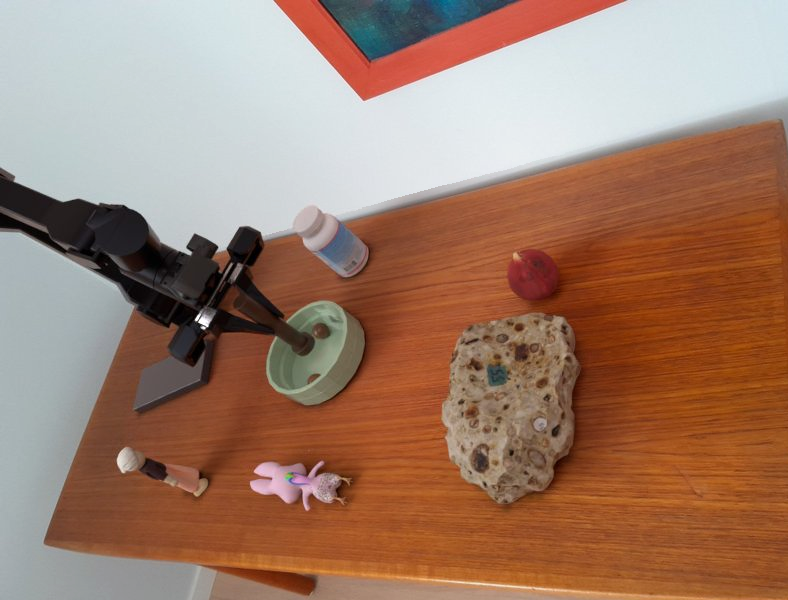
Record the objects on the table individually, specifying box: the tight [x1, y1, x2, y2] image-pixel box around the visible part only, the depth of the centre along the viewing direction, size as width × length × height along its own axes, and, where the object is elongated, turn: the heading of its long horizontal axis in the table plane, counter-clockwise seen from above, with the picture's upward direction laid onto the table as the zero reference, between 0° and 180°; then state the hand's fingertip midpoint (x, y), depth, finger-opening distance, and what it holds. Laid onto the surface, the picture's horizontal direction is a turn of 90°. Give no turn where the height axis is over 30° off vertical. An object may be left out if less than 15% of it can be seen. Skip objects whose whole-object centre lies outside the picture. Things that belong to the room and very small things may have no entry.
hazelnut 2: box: [307, 373, 321, 384], centre depth 90 cm, size 2×2×2 cm
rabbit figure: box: [249, 460, 353, 512], centre depth 82 cm, size 6×6×15 cm
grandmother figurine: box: [116, 446, 209, 498], centre depth 91 cm, size 8×4×13 cm, turn 71°
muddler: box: [232, 294, 315, 356], centre depth 86 cm, size 3×3×12 cm
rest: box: [132, 338, 215, 414], centre depth 111 cm, size 8×16×2 cm, turn 95°
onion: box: [506, 248, 560, 302], centre depth 76 cm, size 6×6×8 cm
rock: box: [441, 312, 582, 506], centre depth 70 cm, size 21×14×10 cm
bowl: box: [265, 299, 366, 406], centre depth 92 cm, size 14×14×4 cm
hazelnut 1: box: [312, 323, 329, 339], centre depth 94 cm, size 2×2×2 cm
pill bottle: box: [292, 204, 370, 278], centre depth 97 cm, size 6×6×11 cm
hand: (279, 325), depth 85 cm, fingers closed on muddler, 2 cm apart
